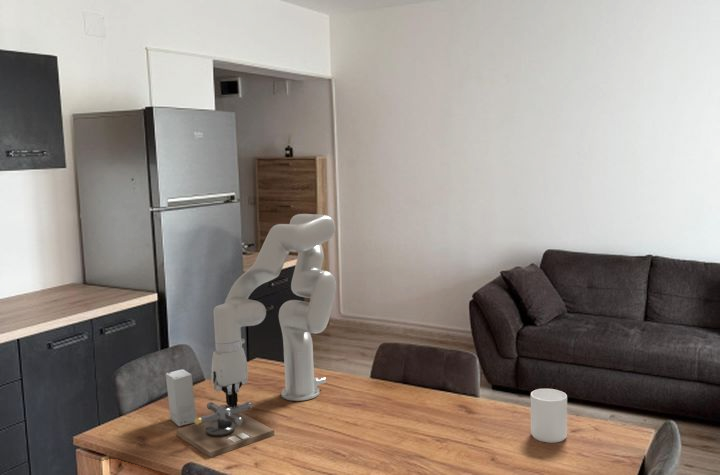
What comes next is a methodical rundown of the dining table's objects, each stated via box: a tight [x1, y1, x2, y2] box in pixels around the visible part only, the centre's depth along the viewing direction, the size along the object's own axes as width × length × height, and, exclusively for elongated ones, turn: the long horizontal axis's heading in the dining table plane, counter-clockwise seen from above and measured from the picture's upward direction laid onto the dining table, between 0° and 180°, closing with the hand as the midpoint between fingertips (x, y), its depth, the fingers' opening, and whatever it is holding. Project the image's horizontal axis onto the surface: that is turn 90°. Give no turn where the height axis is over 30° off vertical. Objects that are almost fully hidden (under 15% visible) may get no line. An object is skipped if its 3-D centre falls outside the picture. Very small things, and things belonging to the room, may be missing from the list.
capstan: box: [193, 401, 253, 437], centre depth 188 cm, size 18×18×6 cm
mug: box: [530, 388, 568, 444], centre depth 181 cm, size 10×12×12 cm
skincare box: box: [165, 369, 197, 427], centre depth 200 cm, size 8×6×15 cm
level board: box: [176, 411, 275, 458], centre depth 189 cm, size 20×20×2 cm
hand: (232, 405), depth 198 cm, fingers closed
